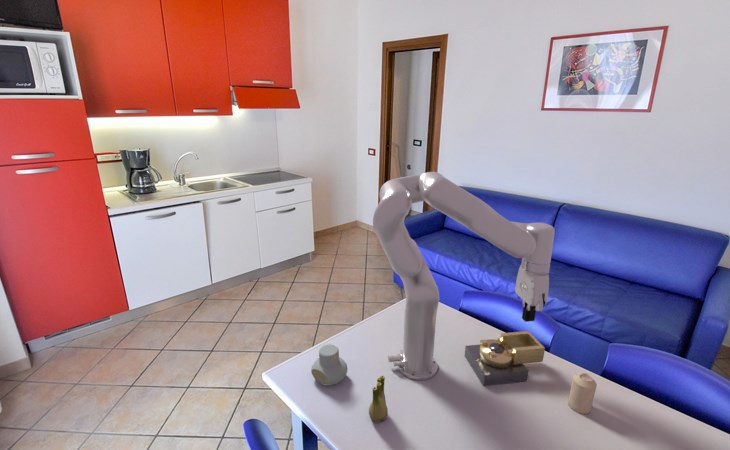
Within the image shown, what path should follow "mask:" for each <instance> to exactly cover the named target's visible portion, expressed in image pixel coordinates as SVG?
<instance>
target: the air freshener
mask: <svg viewBox="0 0 730 450" xmlns="http://www.w3.org/2000/svg"><path fill="white" fill-rule="evenodd" d="M339 351H340V350H339V347H337V346H336V345H335V344H332V343H331V344H324V345H322V346H321V347H320V348H319V350H318V358H317V359H316V360H314V362H313V364H312V365H311V375H312V377H313V378H314V379H315V381H316V382H318V383H319V384H321V385H324V386H333V385H336V384H339V383H340V382H342V381H343V380H344V379H345V378H346V375H347V373H348V364H347V362H346V361H345V360H344V359H343V358H342V357H341V356H340V354H339V353H340V352H339Z"/></svg>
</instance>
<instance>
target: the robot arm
mask: <svg viewBox="0 0 730 450" xmlns="http://www.w3.org/2000/svg"><path fill="white" fill-rule="evenodd" d="M420 202H424V203H426V204H427V205H429V206H430V207H432V208H433V209H435V210H437V211H438V212H440V213H442V214H444V215H446V216H447V217H448V218H451V220H454V222H457V223H458V224H460V225H461V226H463V227H464V228H466V229H468V230H469V231H470V232H473V234H475V235H476V236H477V235H478V236H479V237H481V238H483V239H484V240H485V241H487V242H488V243H490V244H492V245H493V246H494V247H496V248H498V249H500V251H501V250H502V251H503V252H505V253H506V254H508V255H510V256H512V257H514V258H516V259H521V264H520V266H519V268H518V272H517V276H516V281H515V286H514V291H515V294H516V295H517V296H519V298H520V299H521V300H522V307H523V308H522V314H521V319H522V320H523V321H524V322H534V321H535V318H536V312H543V311H544V306H546V305H547V303H548V299H549V291H550V290H549V289H550V287H549V286H550V275H549V273H550V268H551V263H552V261H551V260H552V255H553V254H552V253H553V246H554V240H555V233H556V231H555V230H556V229H555V227H554V226H553V225H550V224H549V223H545V222H531V223H525V222H517V221H511V220H508V218H505V217H504V216H503V215H501V214H499V212H497V211H496V209H493V207H491V206H490V205H489V204H487V203H486V202H485V201H483V200H482V199H480V198H479V197H477V196H475V195H474V194H472V193H470V192H469V191H468V190H466V189H464V188H462V187H461V186H459V185H457V184H456V183H454V182H453V181H451V180H450V179H448V178H446V177H445V176H444V175H443V174H441V173H439V172H437V171H427V172H421V173H416V174H412V175H407V176H402V177H397V178H392V179H389V180H387V181H386V182H385V183H383V184H382V186H381V187H380V190H379V202H378V203H377V207H376V208H375V210H374V213H373V216H372V227H373V231H374V234H375V236H376V238H377V241H378V242H379V243H380V245H381V248H382V250H383V252H384V254H385V256H386V258H387V260H388V263H389V264H390V267H391V269H392V270H393V271H394V273H395V274H396V275H398V276H399V278H400V280H401V282H402V284H403V289H404V292H405V293H404V294H405V308H404V318H403V321H404V322H403V343H402V344H403V347H402V350H400V353H398V354H397V355H388V356H387V360H388V361H387V362H388V363H393V367H397V368H398V370H399V371H400V373H401V374H402V375H404V376H405V377H407V378H409V379H412V380H416V381H425V380H428V379H431V378H433V377H434V376H435V375H436V374H437V372H438V369H439V368H438V366H439V365H438V362H437V360H436V359H435V358H434V353H435V351H434V350H435V338H436V324H437V323H436V322H437V312H438V308H439V302H440V291H439V287H438V285H437V283H436V281H435V279H434V278H435V277H434V276H433V274H432V271H431V270H430V268H429V266H428V264H427V262H426V260H425V258H424V256H423V254H422V252H421V250H420V248H419V245H418V244H417V242H416V241H415V240H414V239H413V238H411V235H410V233H409V231H408V229H407V228H406V225H405V219H406V216H407V215H408V213H409V212H410V210H411V208H412V205H413V204H416V203H420Z"/></svg>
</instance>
